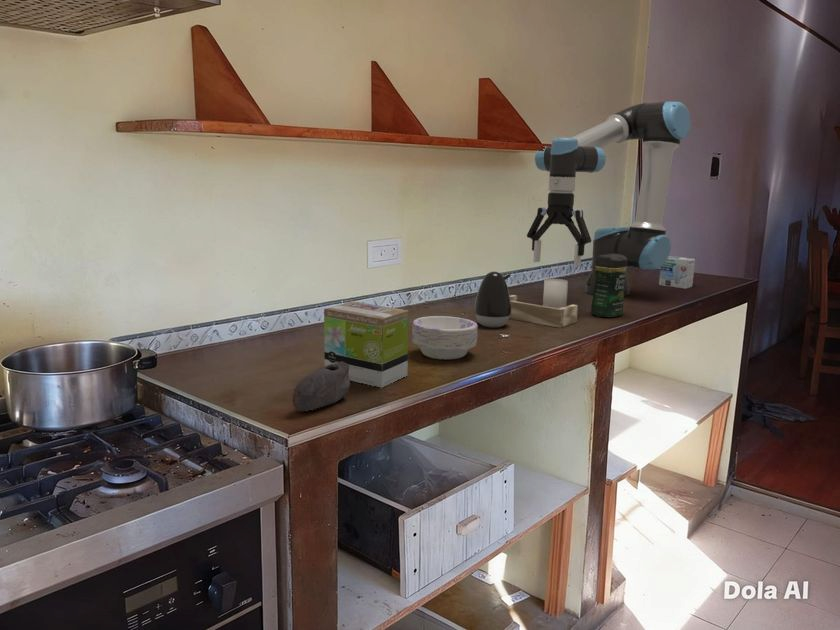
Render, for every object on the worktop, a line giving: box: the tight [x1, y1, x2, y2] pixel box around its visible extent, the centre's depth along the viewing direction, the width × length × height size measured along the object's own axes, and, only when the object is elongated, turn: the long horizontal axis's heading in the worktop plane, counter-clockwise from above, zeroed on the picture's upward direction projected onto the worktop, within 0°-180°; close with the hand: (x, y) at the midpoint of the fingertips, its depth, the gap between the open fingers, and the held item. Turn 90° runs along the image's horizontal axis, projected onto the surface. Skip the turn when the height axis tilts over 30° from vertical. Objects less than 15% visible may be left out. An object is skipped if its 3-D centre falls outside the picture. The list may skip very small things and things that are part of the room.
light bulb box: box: [658, 255, 696, 289], centre depth 264 cm, size 11×7×11 cm, turn 49°
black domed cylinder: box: [473, 271, 511, 329], centre depth 194 cm, size 10×10×15 cm
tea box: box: [323, 300, 410, 388], centre depth 145 cm, size 15×10×15 cm
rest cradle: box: [509, 294, 578, 329], centre depth 204 cm, size 10×22×5 cm, turn 50°
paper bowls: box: [411, 315, 479, 361], centre depth 164 cm, size 15×15×8 cm
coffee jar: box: [590, 254, 628, 318], centre depth 210 cm, size 10×8×19 cm
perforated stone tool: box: [292, 361, 351, 412], centre depth 129 cm, size 15×5×7 cm, turn 146°
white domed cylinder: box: [542, 278, 569, 308], centre depth 212 cm, size 7×7×10 cm
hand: (556, 264), depth 210 cm, fingers open, 13 cm apart
